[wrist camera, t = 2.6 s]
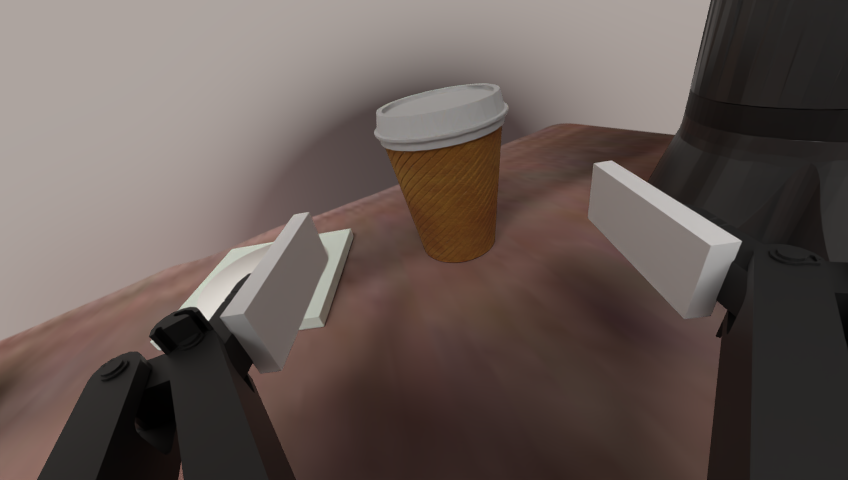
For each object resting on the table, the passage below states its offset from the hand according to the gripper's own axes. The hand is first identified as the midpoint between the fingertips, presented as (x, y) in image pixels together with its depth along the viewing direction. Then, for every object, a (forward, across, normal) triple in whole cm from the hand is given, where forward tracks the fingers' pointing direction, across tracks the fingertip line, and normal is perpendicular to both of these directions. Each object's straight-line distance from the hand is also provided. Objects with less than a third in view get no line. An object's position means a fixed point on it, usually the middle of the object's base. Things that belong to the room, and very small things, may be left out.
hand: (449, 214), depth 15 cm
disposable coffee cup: (+11, +1, -9) cm, 14 cm away
